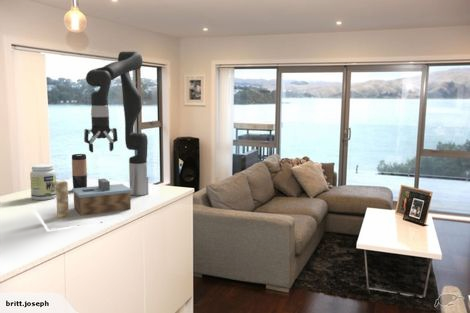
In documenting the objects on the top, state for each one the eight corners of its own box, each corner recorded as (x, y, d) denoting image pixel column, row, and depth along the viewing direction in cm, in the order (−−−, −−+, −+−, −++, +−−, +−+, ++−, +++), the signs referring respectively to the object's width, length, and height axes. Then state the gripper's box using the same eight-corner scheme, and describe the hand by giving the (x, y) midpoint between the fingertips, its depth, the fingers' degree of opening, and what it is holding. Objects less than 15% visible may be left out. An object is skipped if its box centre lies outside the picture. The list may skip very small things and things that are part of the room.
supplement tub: (47, 201, 212) (45, 167, 209) (25, 199, 214) (24, 166, 212) (62, 195, 224) (60, 164, 221) (41, 194, 226) (39, 163, 224)
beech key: (67, 217, 184) (65, 181, 182) (69, 219, 181) (67, 182, 179) (57, 218, 182) (55, 181, 180) (59, 220, 179) (57, 183, 177)
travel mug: (90, 189, 240) (89, 154, 237) (81, 192, 233) (80, 156, 230) (79, 188, 243) (77, 153, 240) (69, 190, 235) (68, 155, 233)
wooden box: (121, 204, 207) (120, 186, 206) (130, 211, 195) (130, 192, 194) (74, 210, 195) (73, 191, 194) (81, 217, 184) (80, 197, 182)
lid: (121, 186, 207) (121, 175, 206) (131, 192, 194) (131, 181, 193) (72, 191, 194) (71, 180, 194) (79, 197, 182) (79, 186, 181)
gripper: (85, 116, 183) (87, 153, 185) (118, 115, 190) (119, 151, 193) (81, 115, 189) (83, 151, 192) (113, 114, 197) (114, 149, 199)
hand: (101, 151), depth 192 cm, fingers open, 8 cm apart
